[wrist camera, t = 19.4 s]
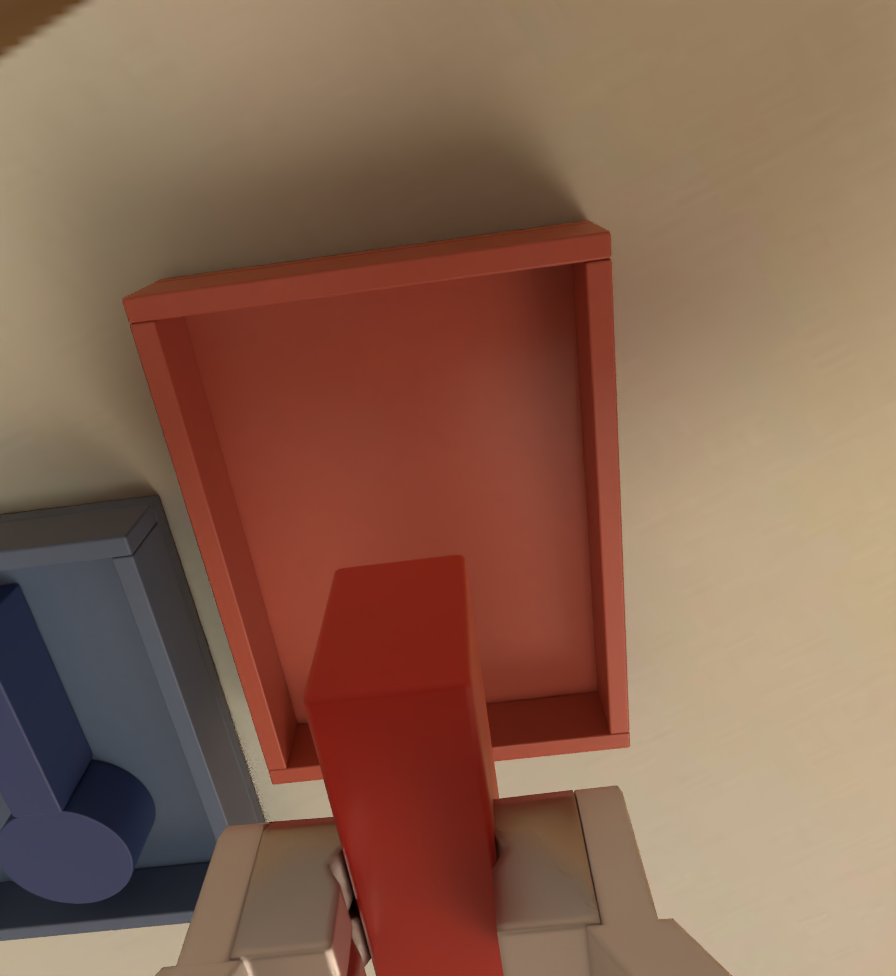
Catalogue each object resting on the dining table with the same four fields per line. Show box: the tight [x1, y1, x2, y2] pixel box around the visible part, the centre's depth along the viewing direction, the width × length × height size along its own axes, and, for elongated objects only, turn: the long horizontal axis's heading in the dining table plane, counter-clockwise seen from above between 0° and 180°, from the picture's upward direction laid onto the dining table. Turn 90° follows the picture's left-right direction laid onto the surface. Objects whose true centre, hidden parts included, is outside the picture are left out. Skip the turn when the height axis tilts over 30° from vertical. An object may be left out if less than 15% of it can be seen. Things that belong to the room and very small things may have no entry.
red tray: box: [123, 220, 630, 784], centre depth 21 cm, size 15×11×3 cm
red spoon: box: [303, 555, 504, 976], centre depth 10 cm, size 11×4×2 cm, turn 8°
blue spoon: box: [0, 584, 155, 904], centre depth 24 cm, size 11×4×2 cm, turn 7°
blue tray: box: [0, 495, 265, 941], centre depth 24 cm, size 15×11×3 cm
